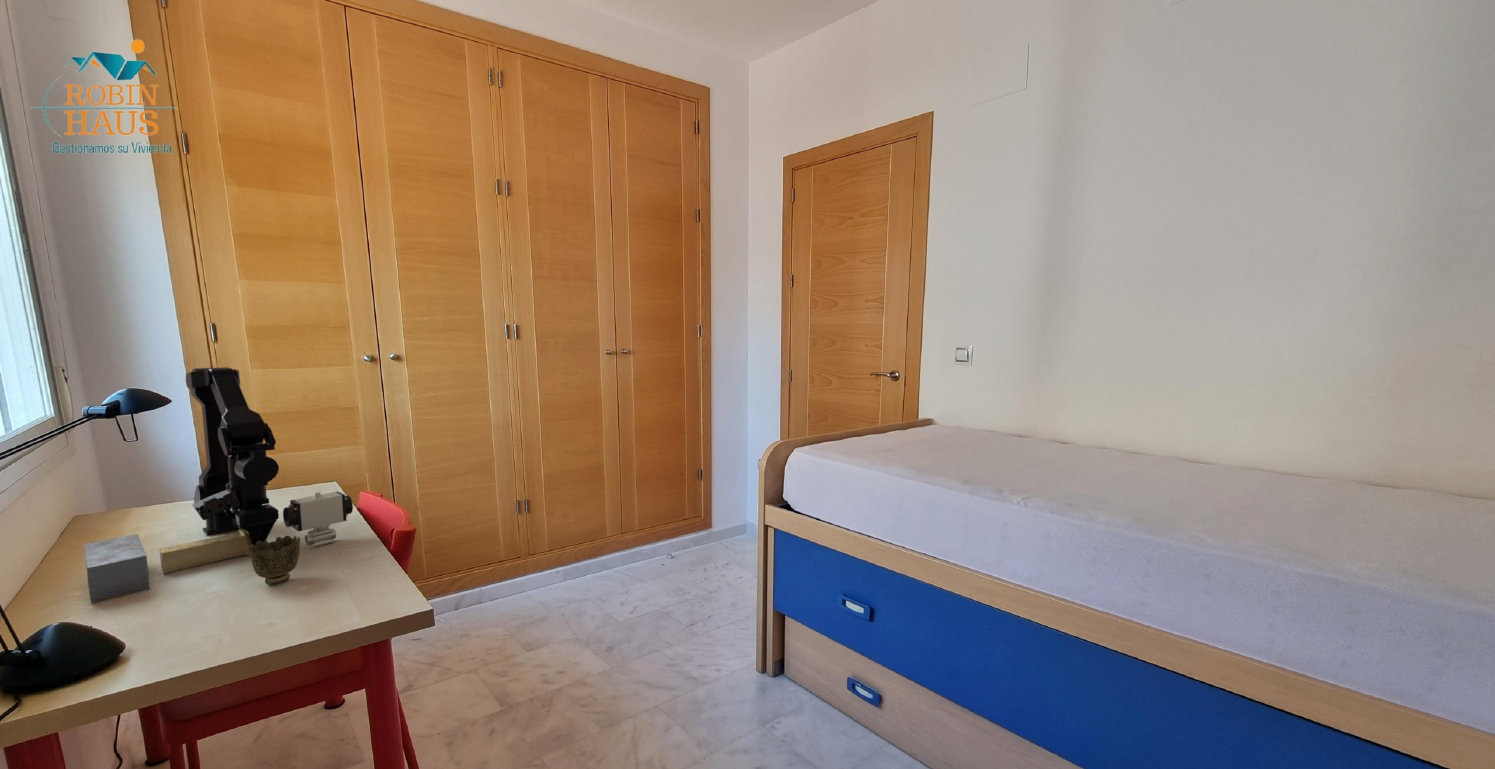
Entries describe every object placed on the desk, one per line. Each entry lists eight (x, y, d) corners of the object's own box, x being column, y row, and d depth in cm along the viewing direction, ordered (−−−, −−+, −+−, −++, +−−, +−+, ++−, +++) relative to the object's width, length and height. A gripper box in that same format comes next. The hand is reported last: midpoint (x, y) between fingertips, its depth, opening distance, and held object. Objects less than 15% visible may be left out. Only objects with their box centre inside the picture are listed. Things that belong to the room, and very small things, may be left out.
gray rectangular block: (140, 564, 112) (137, 534, 111) (149, 589, 101) (146, 555, 100) (87, 576, 106) (83, 544, 106) (90, 603, 95) (87, 568, 95)
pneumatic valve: (355, 538, 126) (352, 488, 126) (291, 554, 117) (287, 500, 116) (346, 533, 130) (343, 484, 129) (284, 548, 120) (280, 496, 119)
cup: (300, 570, 109) (298, 532, 108) (305, 582, 104) (302, 542, 103) (250, 582, 104) (247, 541, 103) (252, 595, 99) (249, 552, 98)
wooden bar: (258, 546, 121) (257, 525, 121) (264, 551, 118) (262, 530, 118) (160, 568, 110) (158, 545, 109) (163, 574, 107) (161, 551, 106)
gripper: (188, 477, 117) (194, 547, 118) (202, 492, 105) (208, 570, 107) (256, 468, 126) (261, 533, 127) (276, 480, 114) (281, 552, 115)
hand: (252, 546), depth 119 cm, fingers open, 9 cm apart
